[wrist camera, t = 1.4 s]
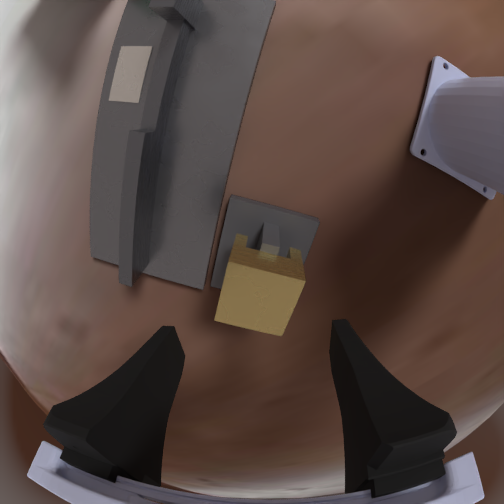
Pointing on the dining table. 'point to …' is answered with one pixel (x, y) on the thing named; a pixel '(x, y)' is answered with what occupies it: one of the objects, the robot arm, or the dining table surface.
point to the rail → (171, 132)
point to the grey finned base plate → (263, 231)
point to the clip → (260, 288)
